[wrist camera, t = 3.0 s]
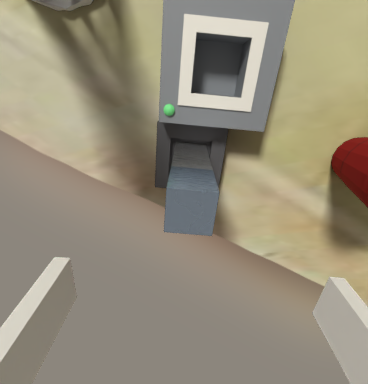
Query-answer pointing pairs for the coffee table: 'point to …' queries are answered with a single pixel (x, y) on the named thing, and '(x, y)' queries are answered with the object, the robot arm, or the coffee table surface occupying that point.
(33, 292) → the robot arm
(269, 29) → the port
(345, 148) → the plastic cup
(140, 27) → the coffee table surface
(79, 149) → the coffee table surface
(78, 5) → the grey tall lattice tower
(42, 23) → the coffee table surface
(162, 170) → the dark grey slot tray
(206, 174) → the plug
